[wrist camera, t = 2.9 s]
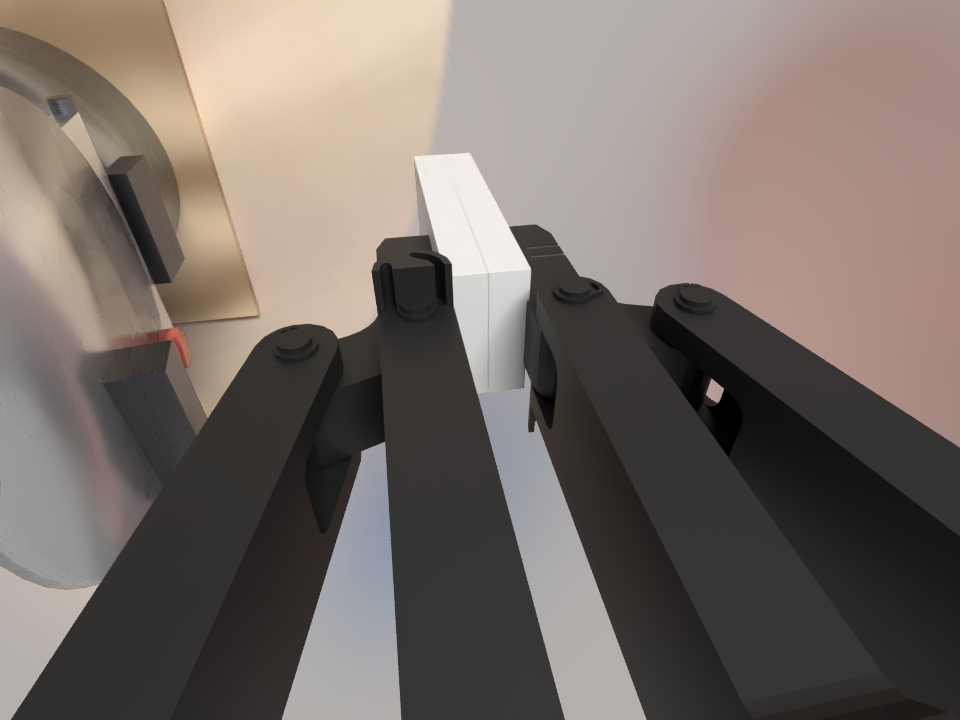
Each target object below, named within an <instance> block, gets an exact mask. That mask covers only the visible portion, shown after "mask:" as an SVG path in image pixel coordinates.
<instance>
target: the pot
mask: <svg viewBox="0 0 960 720" xmlns="http://www.w3.org/2000/svg"><path fill="white" fill-rule="evenodd" d="M0 86H2V87H5V88H8V89H9V90H11V91H13V92H15V93H17V94H19V95H21V96H22V97H24V98H26V99H27V100H28V101H30V102H31V103H32V104H34V105H35V106H36V107H38V108H39V109H40V110H42V111H43V112H44V113H45V114H46V115H47V116H48V117H49V116H51V115H52V112H51V110H50V107H49V105H48V103H47V101H46V98H47V97H50V96H56V95H72V97H73V99H74V101H75V103H76V106H77V108H78V110H79V112H80V115H81V117H82V119H83V122H84V124H85V126H86V128H87V131H88V133H89V135H90V138H91V140H92V142H93V144H94V147H95V149H96V151H97V154H98V156H99V158H100V160H101V163H102V165H103V167H104V170H105V172H106V174H107V176H108V179H109V181H110V183H111V185H112V188H113V190H114V192H115V195H116V197H117V199H118V201H119V204H120V206H121V208H122V211H123V213H124V215H125V217H126V220H127V222H128V224H129V227H130V229H131V231H132V233H133V236H134V238H135V240H136V242H137V245H138V247H139V249H140V252H141V254H142V256H143V258H144V261H145V263H146V265H147V268H148V270H149V272H150V274H151V277H152V279H153V281H154V284H165V283H172V282H173V280H174V278H175V276H176V274H177V273H178V271H179V269H180V267H181V265H182V263H183V261H184V260H185V257H184V255H183V252H182V250H181V247H180V244H179V242H178V239H177V237H176V231H177V228H178V222H179V216H180V197H179V190H178V183H177V180H176V176H175V173H174V170H173V166H172V164H171V162H170V160H169V157H168V155H167V153H166V150H165V148H164V147H163V145H162V143H161V142H160V140H159V138H158V136H157V135H156V133H155V131H154V130H153V129H152V127H151V126H150V125H149V123H148V122H147V120H146V119H145V118H144V116H143V115H142V114H141V113H140V112H139V111H138V109H137V108H136V107H135V106H134V105H133V104H132V103H131V102H130V100H129V99H128V98H127V97H126V96H125V95H123V94H122V93H121V92H120V91H119V90H118V89H117V88H116V87H115V86H114V85H113V84H112V83H110V82H109V81H108V80H107V79H105V78H104V77H103V76H101V75H100V74H99V73H98V72H96V71H95V70H94V69H92V68H91V67H89V66H88V65H86V64H85V63H83V62H82V61H80V60H78V59H77V58H75V57H74V56H72V55H71V54H69V53H67V52H65V51H63V50H61V49H59V48H57V47H55V46H53V45H51V44H49V43H47V42H45V41H42V40H40V39H37V38H35V37H32V36H30V35H27V34H25V33H21V32H18V31H14V30H11V29H7V28H4V27H0Z"/></svg>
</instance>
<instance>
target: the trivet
mask: <svg viewBox="0 0 960 720" xmlns="http://www.w3.org/2000/svg"><path fill="white" fill-rule="evenodd" d="M0 27H4V28H7V29H11V30H14V31H18V32H21V33H25V34H27V35H30V36H32V37H35V38H37V39H40V40H42V41H45V42H47V43H49V44H51V45H53V46H55V47H57V48H59V49H61V50H63V51H65V52H67V53H69V54H71V55H72V56H74V57H75V58H77V59H78V60H80V61H82V62H83V63H85V64H86V65H88V66H89V67H91V68H92V69H94V70H95V71H96V72H98V73H99V74H100V75H101V76H103V77H104V78H105V79H107V80H108V81H109V82H110V83H112V84H113V85H114V86H115V87H116V88H117V89H118V90H119V91H120V92H121V93H122V94H123V95H125V96H126V97H127V98H128V99H129V100H130V102H131V103H132V104H133V105H134V106H135V107H136V108H137V109H138V111H139V112H140V113H141V114H142V115H143V116H144V118H145V119H146V120H147V122H148V123H149V125H150V126H151V127H152V129H153V130H154V131H155V133H156V135H157V136H158V138H159V140H160V142H161V143H162V145H163V147H164V148H165V150H166V153H167V155H168V157H169V160H170V162H171V164H172V166H173V170H174V173H175V176H176V180H177V183H178V190H179V197H180V216H179V222H178V228H177V231H176V237H177V239H178V242H179V244H180V247H181V250H182V252H183V255H184V257H185V260H184V261H183V263H182V265H181V267H180V269H179V271H178V273H177V274H176V276H175V278H174V280H173V282H172V283H165V284H155V286H156V288H157V290H158V293H159V295H160V297H161V299H162V302H163V304H164V306H165V309H166V311H167V313H168V315H169V318H170V320H171V322H172V324H174V323H184V322H195V321H205V320H215V319H225V318H235V317H245V316H255V315H258V314H259V307H258V304H257V301H256V298H255V295H254V291H253V288H252V285H251V282H250V278H249V275H248V272H247V269H246V266H245V262H244V259H243V256H242V253H241V249H240V246H239V243H238V240H237V237H236V233H235V230H234V227H233V224H232V220H231V217H230V214H229V211H228V208H227V204H226V201H225V198H224V195H223V191H222V188H221V185H220V182H219V178H218V175H217V172H216V169H215V166H214V162H213V159H212V156H211V153H210V149H209V146H208V143H207V140H206V137H205V133H204V130H203V127H202V124H201V120H200V117H199V114H198V111H197V108H196V104H195V101H194V98H193V95H192V91H191V88H190V85H189V82H188V79H187V75H186V72H185V69H184V66H183V62H182V59H181V56H180V53H179V50H178V46H177V43H176V40H175V37H174V33H173V30H172V27H171V24H170V21H169V17H168V14H167V11H166V8H165V4H164V1H163V0H0Z"/></svg>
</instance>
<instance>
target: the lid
mask: <svg viewBox="0 0 960 720" xmlns="http://www.w3.org/2000/svg"><path fill="white" fill-rule="evenodd" d="M46 101H47V103H48V105H49V107H50V110H51V112H52V115H51V116H49V117H48V116H47V115H46V114H45V113H44V112H43V111H42V110H40V109H39V108H38V107H36V106H35V105H34V104H32V103H31V102H30V101H28V100H27V99H26V98H24V97H22V96H21V95H19V94H17V93H15V92H13V91H11V90H9V89H8V88H5V87H2V86H0V566H2V567H4V568H5V569H7V570H9V571H10V572H12V573H14V574H15V575H17V576H19V577H21V578H22V579H24V580H27V581H30V582H33V583H36V584H39V585H41V586H45V587H48V588H56V589H65V590H70V589H77V588H85V587H89V586H93V585H97V584H100V583H101V581H102V580H103V578H104V577H105V575H106V574H107V572H108V571H109V569H110V568H111V566H112V565H113V563H114V561H115V560H116V558H117V557H118V555H119V554H120V552H121V551H122V549H123V548H124V546H125V545H126V543H127V542H128V540H129V539H130V537H131V535H132V534H133V532H134V531H135V529H136V528H137V526H138V525H139V523H140V522H141V520H142V519H143V517H144V516H145V514H146V513H147V511H148V509H149V508H150V506H151V505H152V503H153V502H154V500H155V499H156V497H157V496H158V494H159V493H160V491H161V490H162V488H163V487H164V485H165V483H166V482H167V480H168V479H169V477H170V476H171V474H172V473H173V471H174V470H175V468H176V467H177V465H178V464H179V462H180V461H181V459H182V457H183V456H184V454H185V453H186V451H187V450H188V448H189V447H190V445H191V444H192V442H193V441H194V439H195V438H196V436H197V435H198V433H199V431H200V430H201V428H202V427H203V425H204V424H205V422H206V421H207V417H206V414H205V412H204V410H203V408H202V406H201V403H200V401H199V399H198V397H197V394H196V392H195V390H194V388H193V385H192V383H191V381H190V379H189V377H188V374H187V372H186V370H185V368H188V367H189V366H190V362H191V358H190V350H189V345H188V342H187V339H186V336H185V334H184V332H183V330H182V329H181V328H180V327H173V325H172V322H171V320H170V318H169V315H168V313H167V311H166V309H165V306H164V304H163V302H162V299H161V297H160V295H159V293H158V290H157V288H156V286H155V284H154V281H153V279H152V277H151V274H150V272H149V270H148V268H147V265H146V263H145V261H144V258H143V256H142V254H141V252H140V249H139V247H138V245H137V242H136V240H135V238H134V236H133V233H132V231H131V229H130V227H129V224H128V222H127V220H126V217H125V215H124V213H123V211H122V208H121V206H120V204H119V201H118V199H117V197H116V195H115V192H114V190H113V188H112V185H111V183H110V181H109V179H108V176H107V174H106V172H105V170H104V167H103V165H102V163H101V160H100V158H99V156H98V154H97V151H96V149H95V147H94V144H93V142H92V140H91V138H90V135H89V133H88V131H87V128H86V126H85V124H84V122H83V119H82V117H81V115H80V112H79V110H78V108H77V106H76V103H75V101H74V99H73V97H72V95H56V96H50V97H47V98H46Z"/></svg>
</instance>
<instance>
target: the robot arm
mask: <svg viewBox="0 0 960 720" xmlns="http://www.w3.org/2000/svg"><path fill="white" fill-rule="evenodd" d="M414 165H415V177H416V189H417V202H418V214H419V227H420V236H411V237H398V238H386V239H384V241H383V242H382V243H381V244H380V246H379V247H378V248H377V249H376V252H377V262H376V263H374V266H373V269H372V278H373V284H374V291H375V298H376V305H377V312H378V316H377V318H376V320H375V321H374V322H373V323H372V324H371V325H369V326H368V327H367V328H365V329H363V330H362V331H360V332H357V333H355V334H352V335H350V336H347V337H343V338H340V339H338V338H337V337H336V335H335V334H334V332H333V331H331V330H329V329H327V328H326V327H324V326H319V325H313V324H302V325H292V326H288V327H284V328H281V329H278V330H276V331H274V332H272V333H271V334H269V335H267V336H265V337H264V338H263V339H262V340H261V341H260V342H259V343H258V344H257V345H256V346H255V347H254V349H253V350H252V352H251V353H250V355H249V356H248V358H247V360H246V361H245V363H244V364H243V366H242V367H241V369H240V370H239V372H238V373H237V375H236V376H235V378H234V379H233V381H232V382H231V384H230V386H229V387H228V389H227V390H226V392H225V393H224V395H223V396H222V398H221V399H220V401H219V402H218V404H217V405H216V407H215V409H214V410H213V412H212V413H211V415H210V416H209V418H208V419H207V421H206V422H205V424H204V425H203V427H202V428H201V430H200V431H199V433H198V435H197V436H196V438H195V439H194V441H193V442H192V444H191V445H190V447H189V448H188V450H187V451H186V453H185V454H184V456H183V457H182V459H181V461H180V462H179V464H178V465H177V467H176V468H175V470H174V471H173V473H172V474H171V476H170V477H169V479H168V480H167V482H166V483H165V485H164V487H163V488H162V490H161V491H160V493H159V494H158V496H157V497H156V499H155V500H154V502H153V503H152V505H151V506H150V508H149V509H148V511H147V513H146V514H145V516H144V517H143V519H142V520H141V522H140V523H139V525H138V526H137V528H136V529H135V531H134V532H133V534H132V535H131V537H130V539H129V540H128V542H127V543H126V545H125V546H124V548H123V549H122V551H121V552H120V554H119V555H118V557H117V558H116V560H115V561H114V563H113V565H112V566H111V568H110V569H109V571H108V572H107V574H106V575H105V577H104V578H103V580H102V581H101V583H100V585H99V586H98V587H97V589H96V591H95V592H94V594H93V595H92V597H91V598H90V600H89V601H88V603H87V604H86V606H85V607H84V609H83V610H82V612H81V614H80V615H79V617H78V618H77V620H76V621H75V623H74V624H73V626H72V627H71V629H70V630H69V632H68V633H67V635H66V637H65V638H64V640H63V641H62V643H61V644H60V646H59V647H58V649H57V650H56V652H55V653H54V655H53V656H52V658H51V659H50V661H49V662H48V664H47V665H46V667H45V669H44V670H43V672H42V673H41V675H40V676H39V678H38V680H37V681H36V682H35V684H34V685H33V687H32V689H31V690H30V692H29V693H28V695H27V696H26V698H25V699H24V701H23V702H22V704H21V705H20V707H19V708H18V710H17V711H16V713H15V714H14V716H13V718H12V719H11V720H282V716H283V713H284V710H285V707H286V703H287V700H288V697H289V693H290V690H291V687H292V684H293V680H294V677H295V674H296V670H297V667H298V664H299V661H300V657H301V654H302V651H303V647H304V644H305V641H306V638H307V635H308V631H309V628H310V625H311V622H312V618H313V615H314V612H315V609H316V605H317V602H318V599H319V595H320V592H321V589H322V586H323V582H324V579H325V576H326V573H327V569H328V566H329V563H330V560H331V556H332V553H333V550H334V547H335V543H336V540H337V537H338V533H339V530H340V527H341V524H342V520H343V517H344V513H345V511H346V507H347V504H348V501H349V498H350V494H351V491H352V488H353V485H354V481H355V478H356V475H357V471H358V468H359V465H360V462H361V451H363V450H365V449H368V448H370V447H373V446H375V445H378V444H380V443H383V442H385V444H386V462H387V479H388V496H389V514H390V531H391V547H392V564H393V581H394V599H395V616H396V631H397V632H396V634H397V650H398V667H399V685H400V701H401V719H402V720H565V719H564V715H563V712H562V708H561V704H560V700H559V697H558V693H557V689H556V685H555V682H554V678H553V674H552V671H551V667H550V663H549V659H548V656H547V652H546V648H545V644H544V641H543V637H542V634H541V629H540V626H539V622H538V618H537V615H536V611H535V607H534V603H533V600H532V596H531V592H530V588H529V585H528V581H527V577H526V574H525V570H524V566H523V563H522V559H521V555H520V551H519V548H518V544H517V540H516V536H515V533H514V529H513V525H512V521H511V518H510V514H509V510H508V506H507V503H506V499H505V495H504V492H503V488H502V484H501V480H500V477H499V473H498V470H497V465H496V462H495V458H494V454H493V451H492V447H491V443H490V439H489V436H488V432H487V428H486V425H485V421H484V417H483V413H482V410H481V406H480V402H479V398H478V395H477V394H479V393H487V392H495V391H503V390H511V389H519V388H524V379H525V368H526V370H527V372H528V375H529V378H530V380H531V390H530V404H529V419H528V429H529V432H534V426H535V421H537V423H538V426H539V429H540V432H541V434H542V437H543V440H544V442H545V445H546V448H547V451H548V453H549V456H550V459H551V461H552V464H553V467H554V470H555V472H556V475H557V478H558V480H559V483H560V486H561V489H562V491H563V494H564V497H565V499H566V502H567V505H568V507H569V510H570V512H571V516H572V518H573V521H574V524H575V527H576V529H577V532H578V535H579V537H580V540H581V543H582V545H583V548H584V551H585V554H586V556H587V559H588V562H589V564H590V567H591V570H592V572H593V575H594V578H595V580H596V583H597V586H598V589H599V592H600V594H601V597H602V600H603V602H604V605H605V608H606V610H607V613H608V616H609V618H610V621H611V624H612V627H613V630H614V632H615V635H616V638H617V640H618V643H619V646H620V649H621V651H622V654H623V657H624V659H625V662H626V665H627V667H628V670H629V673H630V676H631V678H632V681H633V684H634V686H635V689H636V692H637V695H638V697H639V700H640V703H641V705H642V708H643V711H644V714H645V716H646V719H647V720H960V448H959V447H958V446H956V445H955V444H953V443H952V442H950V441H949V440H947V439H945V438H944V437H942V436H941V435H939V434H938V433H936V432H935V431H933V430H932V429H930V428H928V427H927V426H926V425H924V424H922V423H921V422H919V421H918V420H916V419H915V418H913V417H912V416H910V415H909V414H907V413H905V412H904V411H902V410H901V409H899V408H898V407H896V406H895V405H893V404H892V403H890V402H888V401H887V400H885V399H884V398H882V397H881V396H879V395H877V394H876V393H875V392H873V391H871V390H870V389H868V388H867V387H865V386H864V385H862V384H860V383H859V382H858V381H856V380H854V379H853V378H851V377H850V376H848V375H846V374H845V373H844V372H842V371H841V370H839V369H838V368H836V367H834V366H833V365H831V364H830V363H828V362H826V361H825V360H824V359H822V358H821V357H819V356H818V355H816V354H814V353H813V352H811V351H810V350H808V349H807V348H805V347H803V346H802V345H801V344H799V343H797V342H796V341H794V340H793V339H791V338H789V337H788V336H787V335H785V334H784V333H782V332H780V331H779V330H777V329H776V328H774V327H773V326H771V325H770V324H768V323H767V322H765V321H763V320H762V319H760V318H759V317H757V316H756V315H754V314H753V313H751V312H750V311H748V310H747V309H745V308H743V307H742V306H740V305H739V304H737V303H736V302H734V301H733V300H731V299H730V298H728V297H726V296H725V295H723V294H721V293H719V292H717V291H715V290H713V289H711V288H707V287H703V286H701V285H699V284H689V283H683V284H676V285H669V286H667V287H665V288H662V289H660V290H659V292H658V293H657V295H656V297H655V301H654V306H641V305H629V304H622V303H617V301H616V300H615V298H614V297H613V296H612V294H611V293H610V291H609V290H608V289H607V288H606V287H604V286H603V285H602V284H601V283H599V282H597V281H594V280H592V279H590V278H585V277H580V276H579V275H578V274H577V272H576V271H575V269H574V268H573V266H572V265H571V263H570V262H569V260H568V259H567V257H566V256H565V255H564V254H563V251H562V250H561V248H560V247H559V246H558V244H557V242H556V241H555V239H554V237H553V236H552V234H551V233H549V232H548V231H546V230H544V229H543V228H541V227H539V226H538V225H525V226H512V227H509V226H508V225H507V223H506V221H505V219H504V217H503V215H502V213H501V211H500V210H499V207H498V206H497V204H496V202H495V200H494V198H493V196H492V194H491V192H490V191H489V189H488V187H487V185H486V183H485V181H484V179H483V177H482V175H481V173H480V172H479V170H478V168H477V166H476V164H475V162H474V160H473V158H472V157H471V155H470V153H461V154H445V155H429V156H414ZM711 378H712V379H713V380H714V381H716V382H717V383H718V384H719V385H720V386H722V387H723V388H724V391H723V394H722V397H721V399H720V401H719V403H716V402H715V401H713V400H711V399H710V398H709V397H708V396H707V395H706V392H707V389H708V386H709V384H710V381H711Z"/></svg>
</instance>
